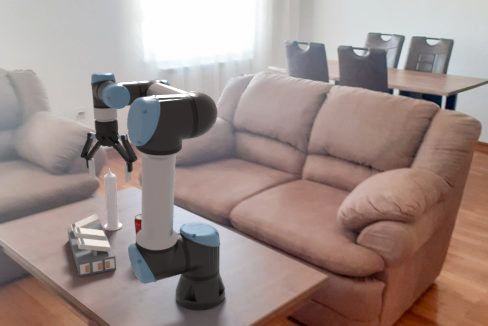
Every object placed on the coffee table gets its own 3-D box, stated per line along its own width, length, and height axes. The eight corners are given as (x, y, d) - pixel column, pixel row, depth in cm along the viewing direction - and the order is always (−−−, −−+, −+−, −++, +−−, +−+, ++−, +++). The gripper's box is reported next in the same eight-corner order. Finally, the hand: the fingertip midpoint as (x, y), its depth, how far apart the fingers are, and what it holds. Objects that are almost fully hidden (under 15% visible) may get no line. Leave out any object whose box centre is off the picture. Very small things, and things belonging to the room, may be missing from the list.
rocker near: (109, 251, 166) (110, 247, 166) (79, 248, 161) (80, 243, 161) (106, 245, 170) (107, 240, 170) (76, 242, 165) (78, 237, 165)
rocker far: (100, 222, 181) (98, 218, 180) (74, 234, 178) (72, 230, 177) (98, 216, 185) (96, 212, 184) (72, 228, 182) (70, 224, 181)
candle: (126, 226, 198) (122, 167, 190) (112, 232, 192) (108, 172, 184) (113, 221, 201) (109, 163, 194) (100, 228, 196) (95, 168, 188)
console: (116, 270, 166) (115, 252, 164) (79, 277, 161) (77, 259, 159) (101, 234, 190) (100, 219, 188) (68, 240, 185) (67, 224, 183)
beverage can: (150, 259, 173) (149, 220, 168) (133, 257, 174) (131, 218, 169) (157, 251, 178) (155, 213, 174) (140, 249, 179) (138, 211, 175)
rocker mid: (104, 240, 174) (105, 235, 173) (75, 237, 169) (76, 232, 169) (101, 234, 178) (102, 230, 178) (73, 231, 173) (74, 226, 173)
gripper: (145, 119, 166) (148, 178, 173) (78, 114, 172) (83, 172, 178) (135, 124, 159) (138, 185, 166) (66, 119, 165) (72, 179, 171)
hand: (110, 179), depth 172 cm, fingers open, 13 cm apart
